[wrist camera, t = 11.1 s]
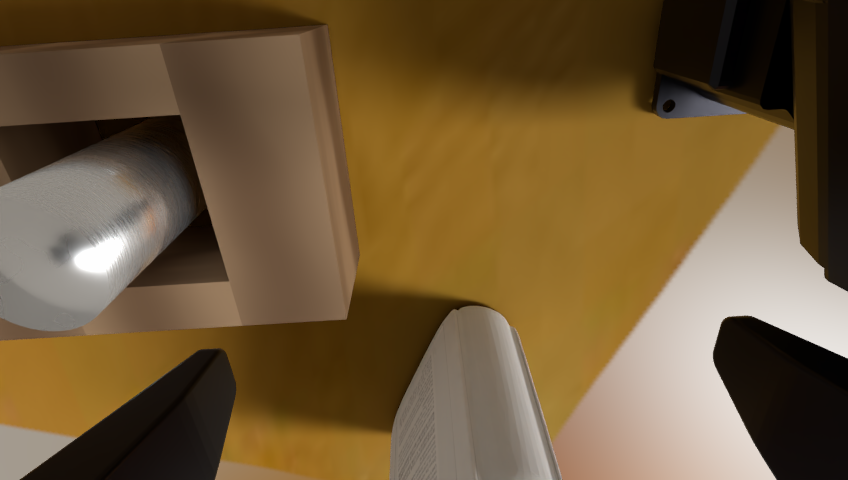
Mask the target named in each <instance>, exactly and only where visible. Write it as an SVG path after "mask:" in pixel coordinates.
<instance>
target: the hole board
mask: <svg viewBox="0 0 848 480" xmlns="http://www.w3.org/2000/svg"><path fill="white" fill-rule="evenodd" d="M167 115H180V116H181V119H182V122H183V126H184V129H185V133H186V136H187V139H188V143H189V146H190V150H191V153H192V156H193V160H194V163H195V167H196V170H197V173H198V177H199V180H200V184H201V187H202V190H203V194H204V197H205V201H206V204H207V207H208V211H209V214H210V218H211V221H212V224H213V226H204V227H188V228H185V229H184V230H183V231H182V232H181V233H180V234H179V235H178V236H177V237H176V238H175V239H174V240H173V241H172V242H171V243H170V244H169V245H168V246H167V247H166V248H165V249H164V250H163V251H162V252H161V253H160V254H159V255H158V256H157V257H156V258H155V259H154V260H153V261H152V262H151V263H150V264H149V265H148V266H147V267H146V268H145V269H144V270H143V271H142V272H141V273H140V274H139V275H138V276H137V277H136V278H135V279H134V280H133V281H132V282H131V283H130V284H129V285H128V286H127V287H126V288H125V289H124V290H123V291H122V292H121V293H120V294H119V295H118V296H117V297H116V298H115V299H114V300H113V301H112V302H111V303H110V304H109V305H108V306H107V307H106V308H105V309H104V310H103V311H102V312H101V313H100V314H99V315H98V316H97V317H96V318H94V319H93V320H92V321H91V322H89V323H87V324H86V325H83V326H81V327H78V328H75V329H71V330H65V331H42V330H36V329H30V328H27V327H23V326H20V325H17V324H14V323H12V322H9V321H7V320H5V319H3V318H0V341H1V340H17V339H34V338H50V337H66V336H83V335H99V334H115V333H131V332H148V331H164V330H180V329H197V328H213V327H229V326H246V325H262V324H278V323H295V322H311V321H327V320H344V319H347V315H348V310H349V305H350V301H351V296H352V291H353V286H354V281H355V276H356V271H357V266H358V261H359V256H360V254H359V247H358V239H357V232H356V225H355V218H354V211H353V204H352V197H351V189H350V182H349V175H348V168H347V161H346V154H345V147H344V139H343V132H342V125H341V118H340V111H339V104H338V96H337V89H336V82H335V75H334V68H333V61H332V54H331V46H330V39H329V32H328V25H314V26H299V27H284V28H269V29H254V30H239V31H224V32H209V33H194V34H179V35H164V36H149V37H134V38H119V39H104V40H89V41H74V42H59V43H44V44H29V45H14V46H0V187H1V186H3V185H6V184H8V183H10V182H12V181H14V180H17V179H19V178H21V177H23V176H25V175H27V174H30V173H32V172H34V171H36V170H38V169H41V168H43V167H45V166H47V165H49V164H52V163H54V162H56V161H58V160H60V159H62V158H65V157H67V156H69V155H71V154H73V153H76V152H78V151H80V150H82V149H84V148H87V147H89V146H91V145H93V144H95V143H98V142H100V141H102V139H101V136H100V133H99V131H98V128H97V126H96V123H95V120H105V119H121V118H136V117H151V116H167Z"/></svg>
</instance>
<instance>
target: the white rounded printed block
mask: <svg viewBox="0 0 848 480" xmlns="http://www.w3.org/2000/svg"><path fill="white" fill-rule="evenodd" d="M390 480H562V477H561V473H560V469H559V466H558V463H557V460H556V456H555V453H554V450H553V446H552V443H551V440H550V436H549V433H548V429H547V426H546V423H545V419H544V416H543V412H542V409H541V406H540V402H539V399H538V396H537V393H536V389H535V387H534V383H533V380H532V376H531V373H530V370H529V366H528V363H527V360H526V356H525V354H524V351H523V347H522V344H521V341H520V338H519V335H518V333H517V331H516V329H515V328H514V327H512V326H509V325H508V322H507V321H506V319H505V318H504V317H503V316H502V315H501V314H500V313H498V312H496V311H495V310H492V309H490V308H487V307H482V306H467V307H462V308H460V309H459V310H456V309H454V310H452V311H451V312H450V313H449V314H448V316H447V317H446V318H445V320H444V321H443V322H442V324H441V325H440V327H439V329H438V331H437V332H436V334H435V336H434V338H433V340H432V341H431V343H430V345H429V347H428V349H427V351H426V353H425V355H424V357H423V359H422V361H421V363H420V365H419V367H418V369H417V371H416V373H415V375H414V377H413V379H412V381H411V383H410V385H409V387H408V389H407V391H406V393H405V395H404V397H403V399H402V402H401V404H400V406H399V408H398V411H397V414H396V417H395V420H394V424H393V429H392V436H391V456H390Z"/></svg>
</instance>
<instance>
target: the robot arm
mask: <svg viewBox="0 0 848 480" xmlns="http://www.w3.org/2000/svg"><path fill="white" fill-rule="evenodd" d="M654 68H655V69H656V71H657V77H656V83H655V89H654V95H653V102H652V110H653V112H654V114H656V115H657V116H659V117H661V118H666V119H668V118H684V117H699V116H715V115H730V114H746V113H748V114H751V115H754V116H757V117H759V118H762V119H765V120H768V121H771V122H774V123H776V124H779V125H782V126H785V127H788V128H791V129H793V130H794V132H795V162H796V189H797V219H798V230H799V237H800V244H801V245H802V246H803V247H804V248H805V249H806V251H807V252H808V253H809V254H810V255H811V256H812V257H813V258H814V260H815V261H816V262H817V263H818V264H819V265H821V266H822V267H824V275H825V278H826V279H827V280H828V281H829V282H831V283H833V284H835V285H837V286H838V287H840V288H843V289H844V290H846V291H848V0H664V2H663V8H662V14H661V21H660V27H659V34H658V40H657V47H656V53H655V60H654ZM667 100H670V102H671V104H670V106H669V108H667V109H666V110H663V107H662V106H663V104H664V103H665V102H666V101H667ZM713 360H714V364H715V367H716V369H717V371H718V373H719V375H720V377H721V379H722V381H723V383H724V385H725V387H726V389H727V391H728V393H729V395H730V397H731V399H732V401H733V403H734V405H735V407H736V409H737V411H738V413H739V415H740V417H741V419H742V421H743V423H744V425H745V427H746V429H747V430H748V433H749V434H750V436H751V438H752V440H753V442H754V444H755V446H756V447H757V449H758V450H759V452H760V454H761V456H762V457H763V459H764V460H765V462H766V464H767V465H768V467H769V468H770V470H771V471H772V473H773V475H774V476H775V478H776V479H777V480H848V359H847V358H845V357H843V356H840V355H838V354H836V353H834V352H831V351H829V350H827V349H825V348H823V347H820V346H818V345H815V344H813V343H811V342H809V341H806V340H804V339H802V338H800V337H798V336H795V335H793V334H791V333H789V332H786V331H784V330H782V329H779V328H777V327H775V326H773V325H770V324H768V323H766V322H764V321H761V320H759V319H757V318H755V317H752V316H734V317H727V318H725V319H724V320H723V321H722V323H721V327H720V330H719V333H718V337H717V340H716V344H715V347H714V351H713ZM235 395H236V382H235V379H234V376H233V373H232V369H231V366H230V363H229V360H228V357H227V355H226V352H225V351H224V350H222V349H219V348H218V349H203V350H199V351H197V352H196V353H194V354H193V355H191V356H190V357H189V358H187V359H186V360H184V361H183V362H182V363H180V364H179V365H178V366H176V367H175V368H173V369H172V370H171V371H169V372H168V373H167V374H165V375H164V376H162V377H161V378H160V379H158V380H157V381H155V382H154V383H153V384H151V385H150V386H149V387H147V388H146V389H144V390H143V391H142V392H140V393H139V394H138V395H136V396H135V397H133V398H132V399H131V400H129V401H128V402H126V403H125V404H124V405H122V406H121V407H120V408H118V409H117V410H115V411H114V412H113V413H111V414H110V415H109V416H107V417H106V418H104V419H103V420H102V421H100V422H99V423H97V424H96V425H95V426H93V427H92V428H91V429H89V430H88V431H86V432H85V433H84V434H82V435H81V436H80V437H78V438H77V439H75V440H74V441H73V442H71V443H70V444H68V445H67V446H66V447H64V448H63V449H62V450H60V451H59V452H57V453H56V454H55V455H53V456H52V457H50V458H49V459H48V460H46V461H45V462H44V463H42V464H41V465H39V466H38V467H37V468H35V469H34V470H33V471H31V472H30V473H28V474H27V475H26V476H24V477H23V478H21V479H20V480H215V477H216V474H217V470H218V466H219V463H220V459H221V454H222V450H223V446H224V442H225V438H226V433H227V429H228V425H229V421H230V417H231V413H232V408H233V404H234V400H235Z"/></svg>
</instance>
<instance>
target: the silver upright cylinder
mask: <svg viewBox="0 0 848 480" xmlns="http://www.w3.org/2000/svg"><path fill="white" fill-rule="evenodd" d="M206 207H207V204H206V201H205V197H204V194H203V190H202V187H201V184H200V180H199V177H198V173H197V170H196V167H195V163H194V160H193V156H192V153H191V150H190V146H189V143H188V139H187V136H186V133H185V129H184V126H183V122H182V119H181V116H180V115H167V116H154V117H152V118H150V119H148V120H146V121H143V122H141V123H139V124H137V125H135V126H133V127H130V128H128V129H126V130H124V131H122V132H119V133H117V134H115V135H113V136H111V137H108V138H106V139H104V140H102V141H100V142H98V143H95V144H93V145H91V146H89V147H87V148H84V149H82V150H80V151H78V152H76V153H73V154H71V155H69V156H67V157H65V158H62V159H60V160H58V161H56V162H54V163H52V164H49V165H47V166H45V167H43V168H41V169H38V170H36V171H34V172H32V173H30V174H27V175H25V176H23V177H21V178H19V179H17V180H14V181H12V182H10V183H8V184H6V185H3V186H1V187H0V318H3V319H5V320H7V321H9V322H12V323H14V324H17V325H20V326H23V327H27V328H30V329H36V330H42V331H65V330H71V329H75V328H78V327H81V326H83V325H86V324H87V323H89V322H91V321H92V320H93V319H94V318H96V317H97V316H98V315H99V314H100V313H101V312H102V311H103V310H104V309H105V308H106V307H107V306H108V305H109V304H110V303H111V302H112V301H113V300H114V299H115V298H116V297H117V296H118V295H119V294H120V293H121V292H122V291H123V290H124V289H125V288H126V287H127V286H128V285H129V284H130V283H131V282H132V281H133V280H134V279H135V278H136V277H137V276H138V275H139V274H140V273H141V272H142V271H143V270H144V269H145V268H146V267H147V266H148V265H149V264H150V263H151V262H152V261H153V260H154V259H155V258H156V257H157V256H158V255H159V254H160V253H161V252H162V251H163V250H164V249H165V248H166V247H167V246H168V245H169V244H170V243H171V242H172V241H173V240H174V239H175V238H176V237H177V236H178V235H179V234H180V233H181V232H182V231H183V230H184V229H185V228H186V227H187V226H188V225H189V224H190V223H191V222H192V221H193V220H194V219H195V218H196V217H197V216H198V215H199V214H200V213H201V212H202V211H203V210H204V209H205V208H206Z"/></svg>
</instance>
